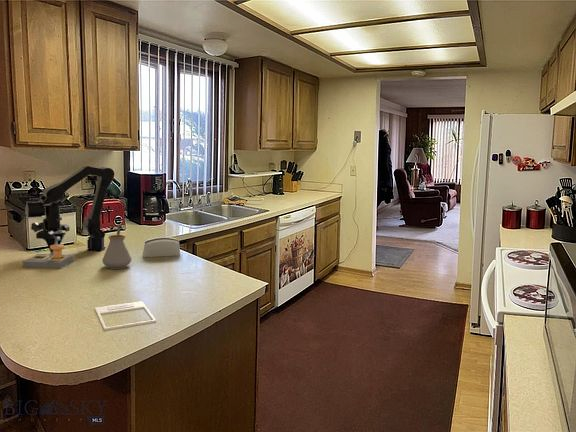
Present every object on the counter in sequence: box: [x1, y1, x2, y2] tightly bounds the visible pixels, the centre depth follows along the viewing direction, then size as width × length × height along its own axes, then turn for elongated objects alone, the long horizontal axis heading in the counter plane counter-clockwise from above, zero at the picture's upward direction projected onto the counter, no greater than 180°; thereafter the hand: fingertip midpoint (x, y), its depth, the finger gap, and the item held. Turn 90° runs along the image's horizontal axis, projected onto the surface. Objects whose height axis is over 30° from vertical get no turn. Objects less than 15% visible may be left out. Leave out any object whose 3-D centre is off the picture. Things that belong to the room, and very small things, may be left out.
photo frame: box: [94, 300, 157, 331], centre depth 144 cm, size 15×1×18 cm
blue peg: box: [49, 236, 60, 255], centre depth 209 cm, size 5×5×8 cm
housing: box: [22, 253, 75, 270], centre depth 194 cm, size 15×12×3 cm
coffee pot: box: [101, 224, 133, 270], centre depth 199 cm, size 21×12×15 cm, turn 15°
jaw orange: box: [49, 243, 65, 259], centre depth 194 cm, size 5×5×8 cm
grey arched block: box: [142, 236, 181, 258], centre depth 215 cm, size 17×5×10 cm, turn 112°
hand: (54, 250), depth 209 cm, fingers closed on blue peg, 4 cm apart
